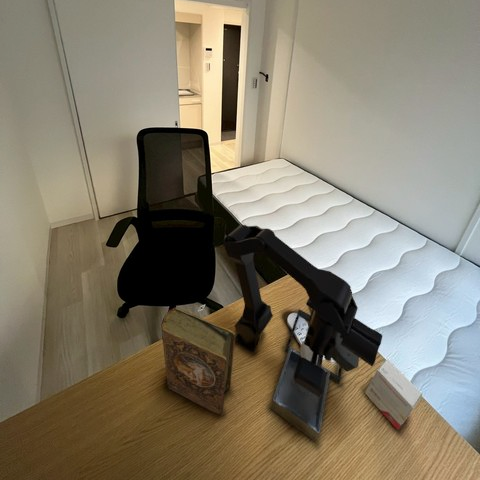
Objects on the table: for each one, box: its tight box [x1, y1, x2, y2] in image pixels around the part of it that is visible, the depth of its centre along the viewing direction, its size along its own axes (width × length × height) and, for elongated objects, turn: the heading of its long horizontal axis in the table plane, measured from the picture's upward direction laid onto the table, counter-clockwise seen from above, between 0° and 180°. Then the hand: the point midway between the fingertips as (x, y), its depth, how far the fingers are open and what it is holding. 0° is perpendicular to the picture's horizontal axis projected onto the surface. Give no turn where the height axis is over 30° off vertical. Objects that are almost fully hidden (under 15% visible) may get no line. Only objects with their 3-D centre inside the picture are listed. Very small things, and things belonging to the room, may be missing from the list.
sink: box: [270, 346, 331, 442], centre depth 63 cm, size 11×13×4 cm
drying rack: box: [284, 308, 344, 385], centre depth 74 cm, size 16×14×4 cm
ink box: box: [365, 358, 423, 431], centre depth 61 cm, size 9×5×12 cm, turn 33°
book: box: [160, 306, 236, 416], centre depth 58 cm, size 16×6×25 cm, turn 71°
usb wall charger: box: [299, 340, 319, 365], centre depth 61 cm, size 4×7×4 cm, turn 174°
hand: (310, 362), depth 61 cm, fingers closed on usb wall charger, 7 cm apart
